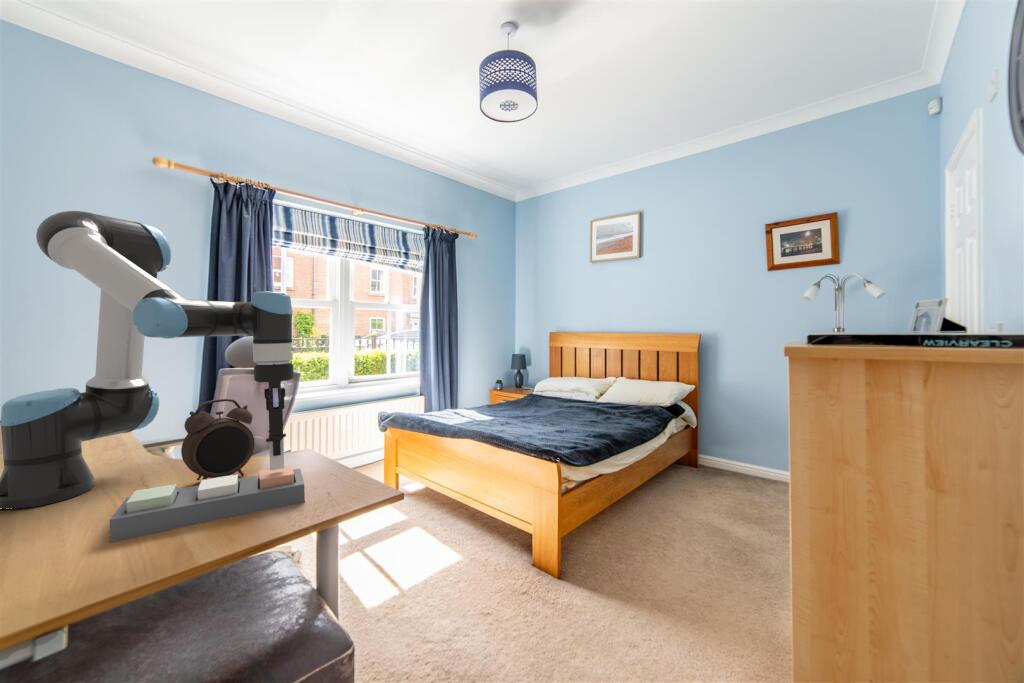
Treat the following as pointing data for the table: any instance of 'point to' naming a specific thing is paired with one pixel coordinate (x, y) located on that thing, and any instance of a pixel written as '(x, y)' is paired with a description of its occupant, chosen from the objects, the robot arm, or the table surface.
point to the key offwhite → (218, 487)
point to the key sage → (152, 498)
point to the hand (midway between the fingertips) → (277, 468)
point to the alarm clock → (217, 442)
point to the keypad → (205, 507)
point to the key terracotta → (276, 477)
